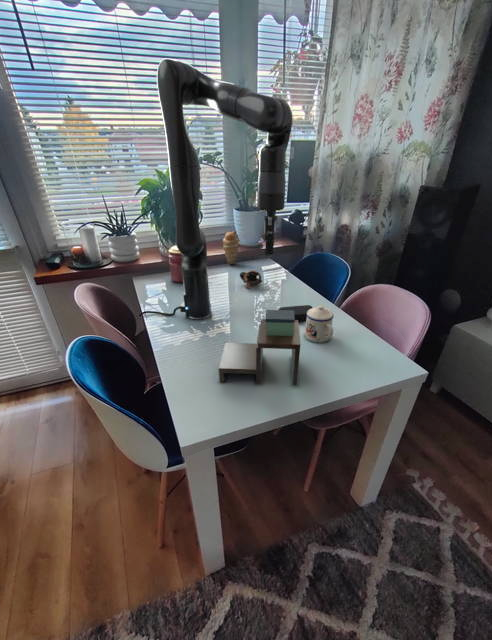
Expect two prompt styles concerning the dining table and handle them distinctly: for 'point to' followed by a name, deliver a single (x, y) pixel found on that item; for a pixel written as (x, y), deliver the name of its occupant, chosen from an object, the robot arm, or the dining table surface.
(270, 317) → the box
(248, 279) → the pottery mug
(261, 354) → the shelf riser
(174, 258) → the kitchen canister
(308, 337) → the teacup with lid
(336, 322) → the dining table surface
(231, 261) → the cat ice cream
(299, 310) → the carrying case
